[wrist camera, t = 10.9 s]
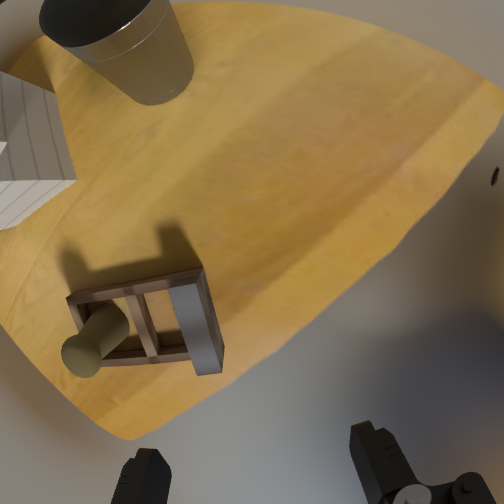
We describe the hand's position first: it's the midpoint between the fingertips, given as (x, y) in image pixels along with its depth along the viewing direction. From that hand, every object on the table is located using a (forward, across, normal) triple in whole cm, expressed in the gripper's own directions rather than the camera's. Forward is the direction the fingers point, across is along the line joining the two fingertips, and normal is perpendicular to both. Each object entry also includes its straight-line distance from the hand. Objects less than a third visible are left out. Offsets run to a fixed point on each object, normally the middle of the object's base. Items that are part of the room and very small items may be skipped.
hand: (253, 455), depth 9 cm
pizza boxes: (+26, +34, -20) cm, 47 cm away
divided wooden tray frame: (+26, +15, +4) cm, 30 cm away
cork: (+26, +20, +4) cm, 33 cm away
